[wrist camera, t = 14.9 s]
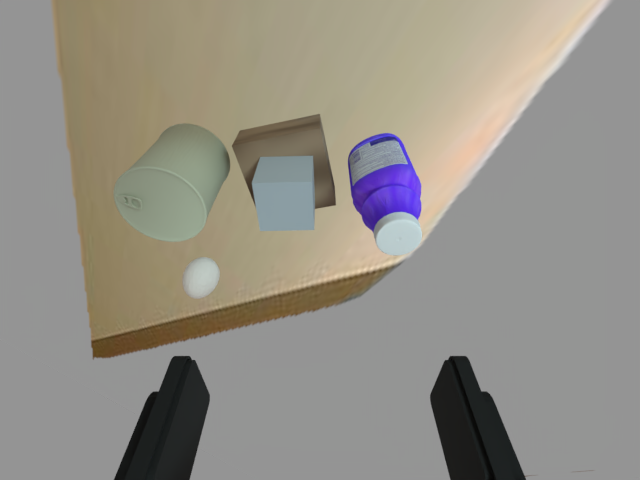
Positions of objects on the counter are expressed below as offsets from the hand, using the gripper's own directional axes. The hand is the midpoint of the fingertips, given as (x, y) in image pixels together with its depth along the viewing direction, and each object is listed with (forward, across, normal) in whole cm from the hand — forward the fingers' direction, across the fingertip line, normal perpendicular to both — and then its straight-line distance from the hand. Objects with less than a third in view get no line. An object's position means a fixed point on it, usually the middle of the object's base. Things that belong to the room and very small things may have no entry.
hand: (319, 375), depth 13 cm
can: (+34, +16, +7) cm, 38 cm away
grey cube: (+29, +4, +7) cm, 30 cm away
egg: (+34, +18, +24) cm, 45 cm away
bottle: (+34, -7, +6) cm, 35 cm away
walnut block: (+34, +4, +7) cm, 35 cm away
